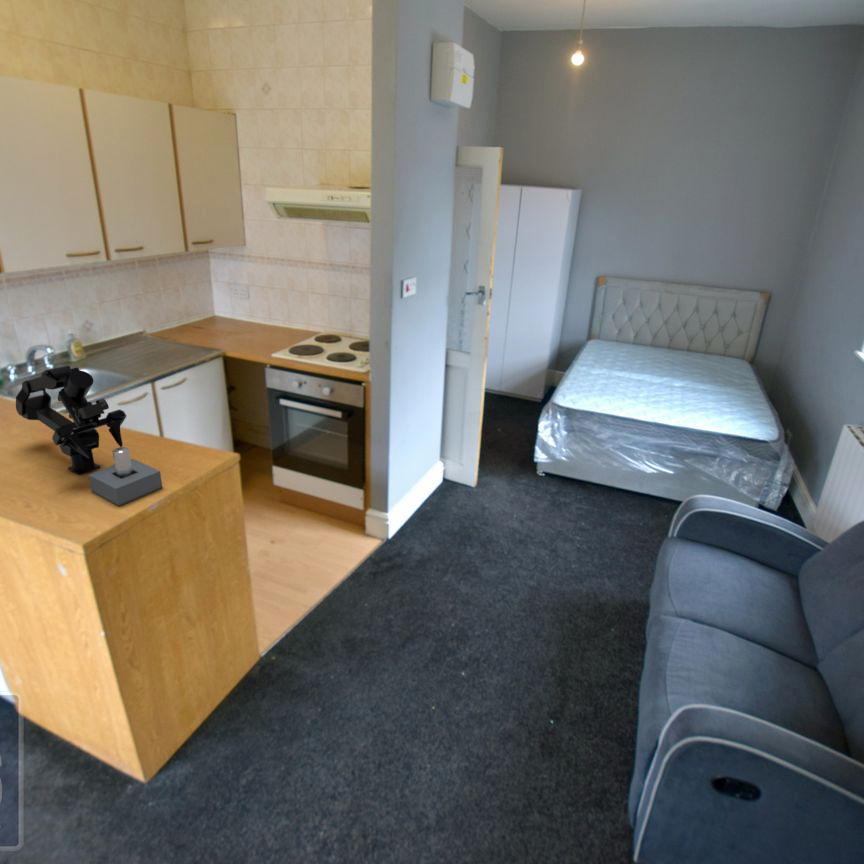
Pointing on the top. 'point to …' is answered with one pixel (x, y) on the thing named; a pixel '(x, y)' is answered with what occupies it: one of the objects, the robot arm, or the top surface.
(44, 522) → the top surface
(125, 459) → the aluminium peg
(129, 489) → the slate socket block
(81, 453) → the robot arm
